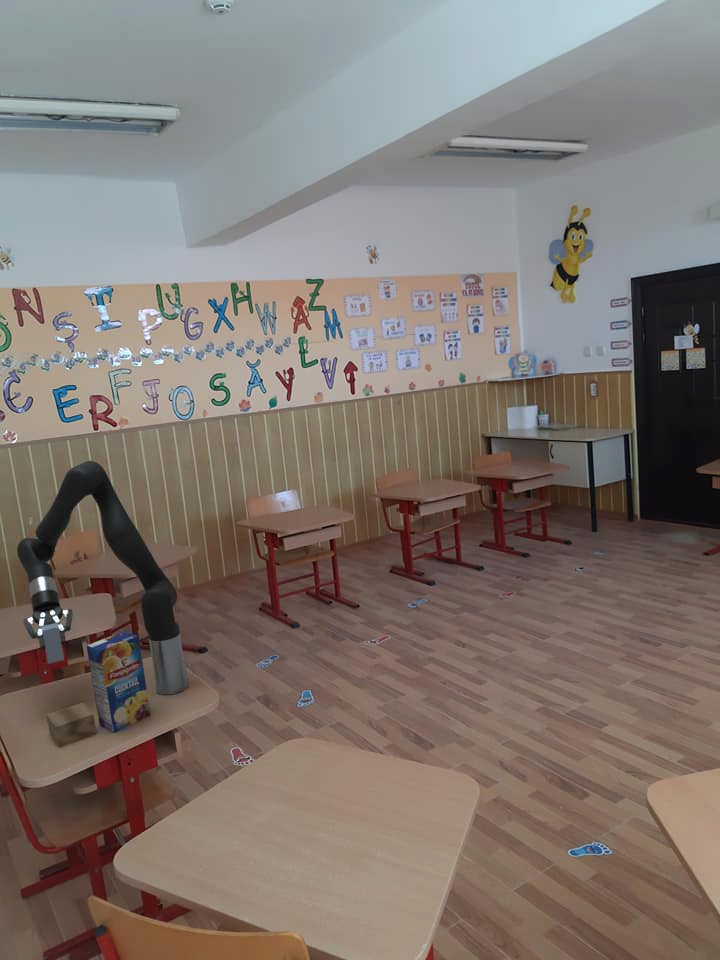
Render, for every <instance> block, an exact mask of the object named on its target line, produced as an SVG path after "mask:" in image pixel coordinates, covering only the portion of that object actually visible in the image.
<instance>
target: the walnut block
mask: <svg viewBox="0 0 720 960" xmlns="http://www.w3.org/2000/svg"><path fill="white" fill-rule="evenodd" d="M46 721H47V725H48V731H49V735H50V736H51V737H52V739H53V741H54V742H55V743H56V745H57V747H58V748H61V747H63V746H66V745H69V744H72V743H74V742H77V741H79V740H83V739H85V738H89V737H91V736H95V735H97V729H96V723H95V715H94V713H93V712H92V711H91V710H90V709H89V707H88V706H87V705H86V704H85V703H84V702H80V703H78V704H73V705H71V706H68V707H64V708H62V709H58V710H56V711H54V712H50V713H48V714H47V713H46Z"/></svg>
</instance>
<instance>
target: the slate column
mask: <svg viewBox="0 0 720 960" xmlns="http://www.w3.org/2000/svg"><path fill="white" fill-rule="evenodd" d="M42 632H43V638H44V644H45V650H44V651H45V654H46V660H47V664H48V665H49V664H53V663H57V662H61V661H65V657H64V649H63V646H62V644H61V638H60V632H59V626H58V624H56V623H54V624H49V625H45V626H43V627H42Z"/></svg>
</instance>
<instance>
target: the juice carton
mask: <svg viewBox="0 0 720 960" xmlns="http://www.w3.org/2000/svg"><path fill="white" fill-rule="evenodd" d="M141 649H142V648H141V642H140V636H139V635H137V634H134V633H131V632H128V631H121V632H119V633H118V632H117V634H116V633H115V634H113V635H111V636H108V637H105V638H103V639H100V640H98V641H95V642H93V643H89V644H88V645H86V650H87V655H88V657H87V658H88V663H89V667H90V668H89V669H90V675H91V680H92V688H93V694H94V699H95V700H94V701H95V705H96V711H97V718H98V724H99V727H101V728H103V729H105V730H107V731H109V732H112V733H113V734H115V733H117V732H119V731H122V730H123V729H125V728H127V727H129V726H131V725H133V724H135V723H137V722H140V721H141V720H143V719H146V718H147V717H149V716H151V709H150V703H149V696H148V690H147V688H148V687H147V682H146V677H145V669H144V662H143V656H142V650H141Z"/></svg>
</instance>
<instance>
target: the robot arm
mask: <svg viewBox="0 0 720 960" xmlns="http://www.w3.org/2000/svg"><path fill="white" fill-rule="evenodd" d="M88 496H91V497H92V498H93V500H94V502H95V503H96V504H97V507H98V509H99V512H100V513H99V514H100V517H101V527H102V533H103V536H104V539H105V540H106V543H107V544H108V546H109V548H110V549H111V551H112V552H113V554H114V555H115V556H116V558H117V559H118V560H119V561H120V562H121V563H122V564H123V565H125V566H126V567H127V568H128V569H129V570H130V571H132V572H133V574H135V576H136V577H137V578H138V580H139V581H140V583H141V585H142V587H143V589H144V591H145V592H144V594H143V595H142V598H141V604H140V605H141V606H140V607H141V613H142V619H143V623H144V624H143V625H144V628H145V631H146V632H147V635H148V636H147V637H148V641H149V647H150V654H151V656H150V657H151V661H152V668H153V675H154V682H155V689H156V693H157V694H159V695H165V696H167V695H174V694H178V693H180V692H182V691H184V690H186V689H189V688H190V686H189V685H190V684H189V679H188V672H187V671H188V670H187V665H186V658H185V657H184V653H183V644H182V639H181V632H180V631H181V630H180V625H179V624H178V623H177V622H176V620H175V619H176V618H175V614H174V606H175V605H176V603H177V600H178V592H177V590H176V587H175V586H174V585H173V583H172V582H171V581H170V580H169V578H168V577H167V576H166V574H165V573H164V572H163V570H162V569H161V568H160V566H159V564H158V563H157V562H156V560H155V558H154V556H153V555H152V552H151V551H150V548H148V546H147V544H146V542H145V540H144V539H143V537H142V536H141V533H140V531H138V529H137V527H136V525H135V524H134V522H133V521H132V520H131V517H130V516H129V514H128V513H127V511H126V509H125V507H124V506H123V504H122V502H121V500H120V499H119V497H118V495H117V493H116V490H115V489H114V486H113V484H112V482H111V480H110V478H109V476H108V474H107V472H106V470H105V469H104V467H103V466H102V465H101V464H100V463H98V462H97V461H94V460H87V461H83V462H82V463H80V464H78V465H76V466H73V467H72V468H70V469H69V470H68V471H67V473H66V474H65V476H64V478H63V480H62V482H61V486H60V487H59V490H58V492H57V494H56V497H55V499H54V501H53V502H52V505H51V506H50V508H49V510H48V511H47V512H46V514H45V516H44V517H43V518H42V520H41V521H40V523H39V524H38V526H37V527H36V529H35V536H36V538H34V537H25V538H23V539H21V540H20V541H19V542H18V545H17V549H16V552H17V557H18V560H19V561H20V564H21V565H22V567H23V569H24V570H25V572H26V575H27V579H28V584H29V585H28V587H29V596H30V598H29V599H30V601H31V603H30V604H31V607H32V614H31V617H29V618H24V619H23V620H22V621H23V625H24V628H25V629H26V632H27V633H28V634H29V636H30V638H31V639H33V640H34V639H37V640H38V644H39V648H40V649H42V651H46V650H45V644H44V638H43V632H42V627H43V626H45V625H49V624H54V623H56V624H58V626H59V632H60V638H61V644H62V647H64V646H65V644H66V643H67V639H66V632H69V631H71V627H72V621H73V616H74V615H73V609H72V608H69V609H68V610H67V609H65V610H63V608H62V607H61V602H60V598H59V592H58V589H57V588H58V587H57V584H56V581H55V577H54V572H53V571H54V570H53V568H52V566H51V564H49V563H48V562H49V561H51V560H52V559H53V558H54V555H55V552H56V547H57V545H58V542H59V539H60V537H61V536H62V535H63V534H64V532H65V530H66V529H67V527H68V525H69V523H70V521H71V517H72V513H73V511H74V509H75V508H76V507H77V505H79V503H80V502H82V501H83V499H84V498H86V497H88ZM62 616H64V618H65V619H66V620H65V621H66V622H65V625H64V626H63V624H62V621H61V619H62V618H63V617H62ZM33 622H34V623H36V624H37V625H38V629H37V631H35V629H34V628H33Z"/></svg>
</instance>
